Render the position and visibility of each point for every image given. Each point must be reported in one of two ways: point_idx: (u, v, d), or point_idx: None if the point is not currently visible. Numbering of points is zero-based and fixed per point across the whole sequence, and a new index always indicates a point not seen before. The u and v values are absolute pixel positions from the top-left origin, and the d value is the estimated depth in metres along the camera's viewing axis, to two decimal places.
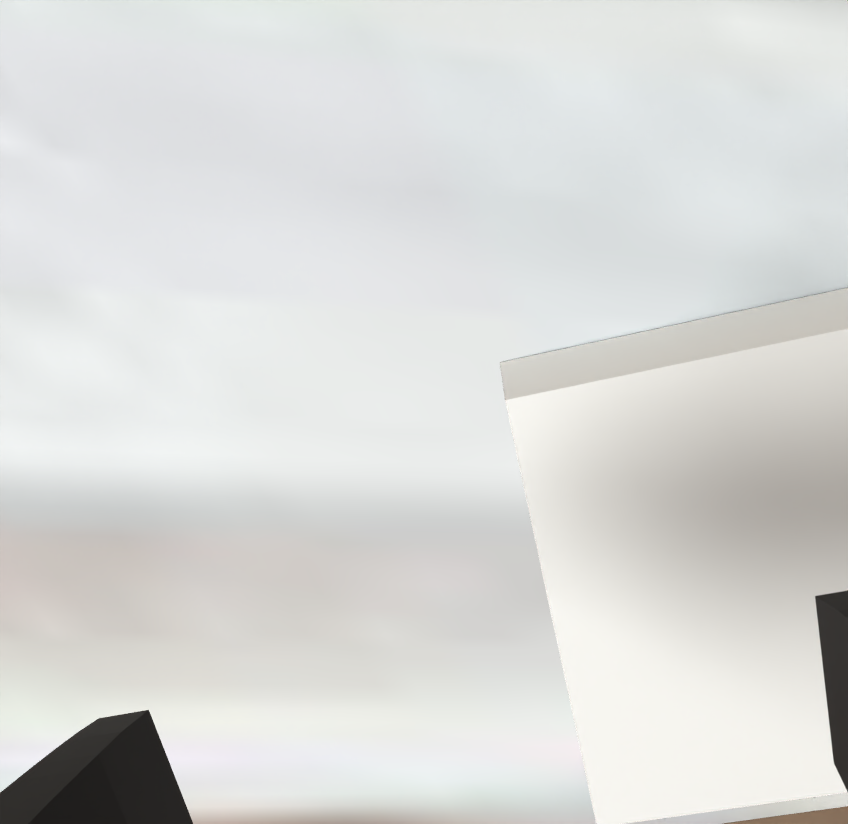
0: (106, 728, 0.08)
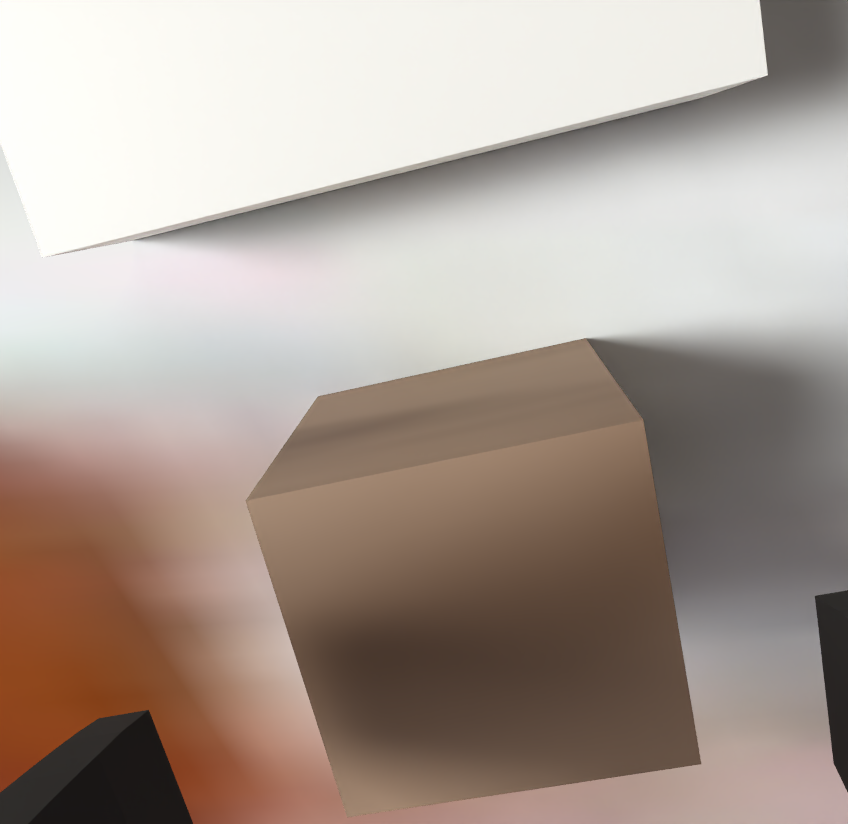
0: (106, 728, 0.08)
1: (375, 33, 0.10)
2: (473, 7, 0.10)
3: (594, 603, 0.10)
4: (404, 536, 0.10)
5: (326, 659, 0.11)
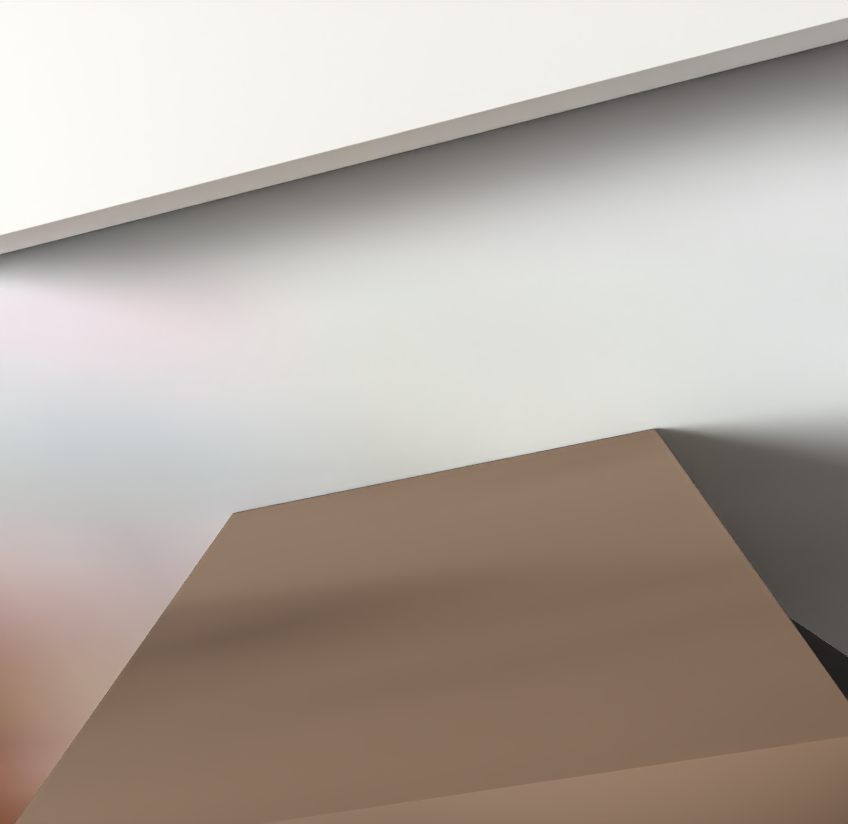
0: None
1: None
2: None
3: None
4: None
5: None
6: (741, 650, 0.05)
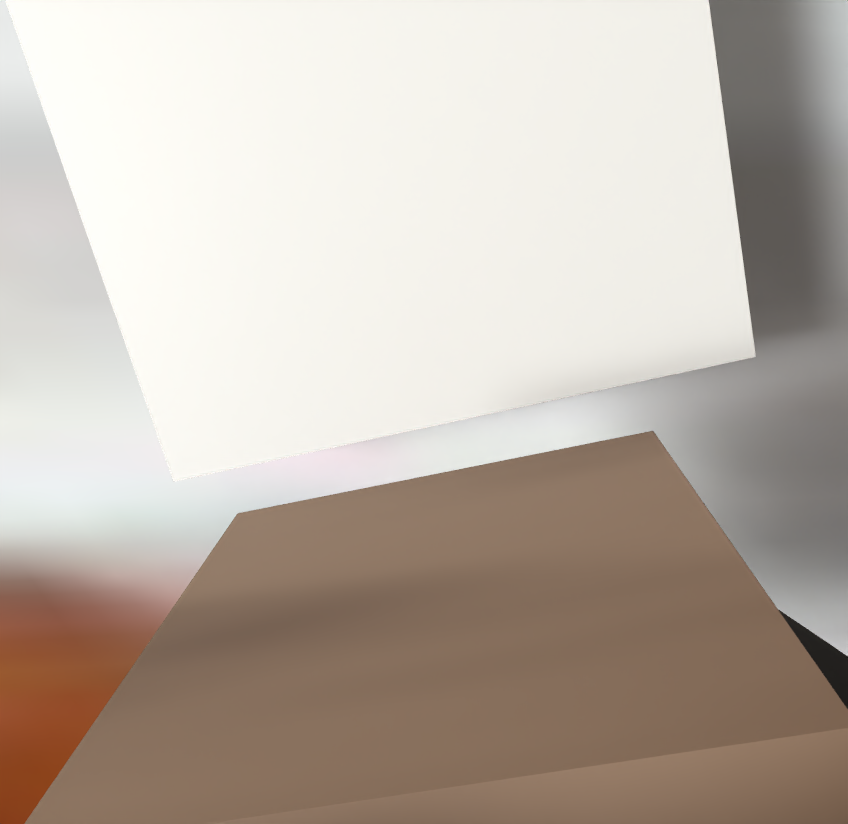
0: None
1: (446, 322, 0.13)
2: (524, 304, 0.13)
3: None
4: None
5: None
6: (735, 647, 0.05)
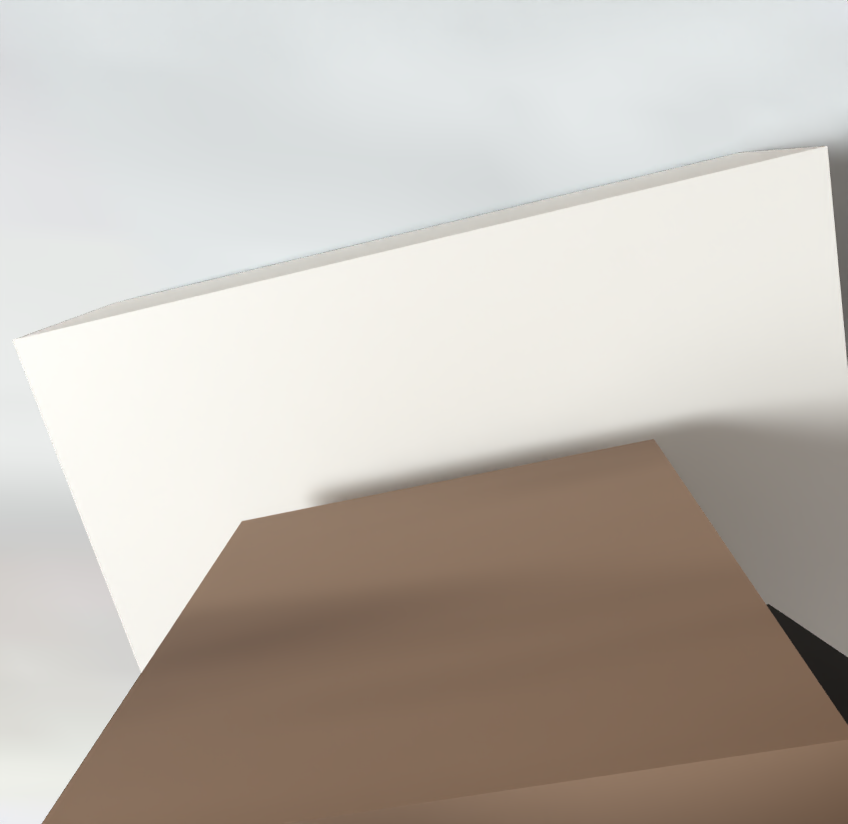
0: None
1: None
2: None
3: None
4: None
5: None
6: (735, 658, 0.05)
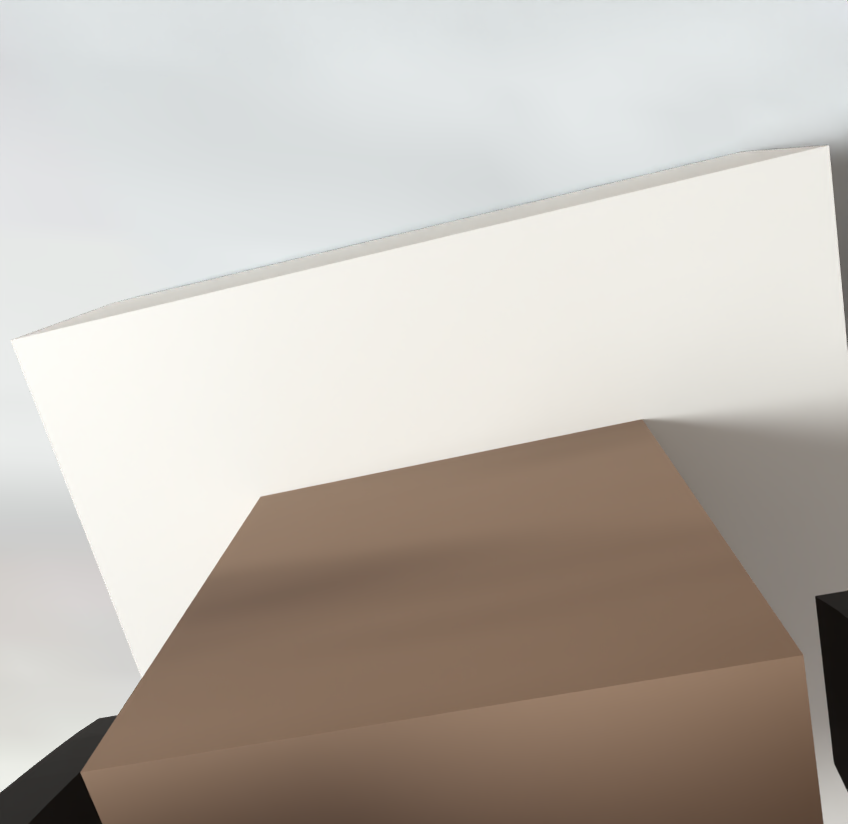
0: (106, 728, 0.08)
1: None
2: None
3: None
4: None
5: None
6: (705, 597, 0.06)
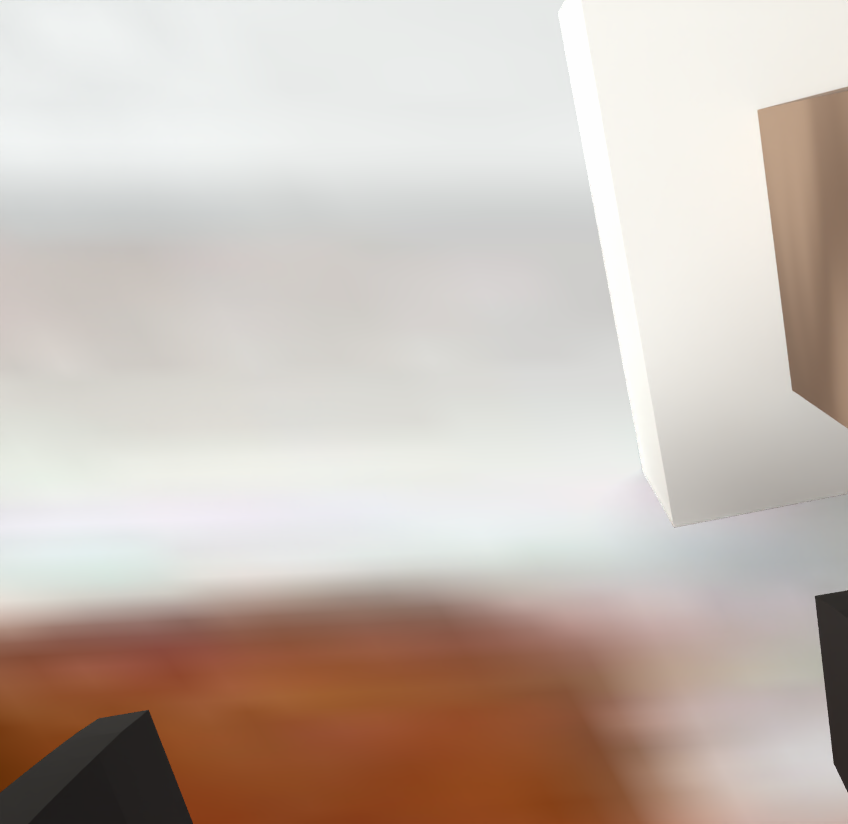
0: (105, 728, 0.08)
1: None
2: None
3: None
4: None
5: None
6: None
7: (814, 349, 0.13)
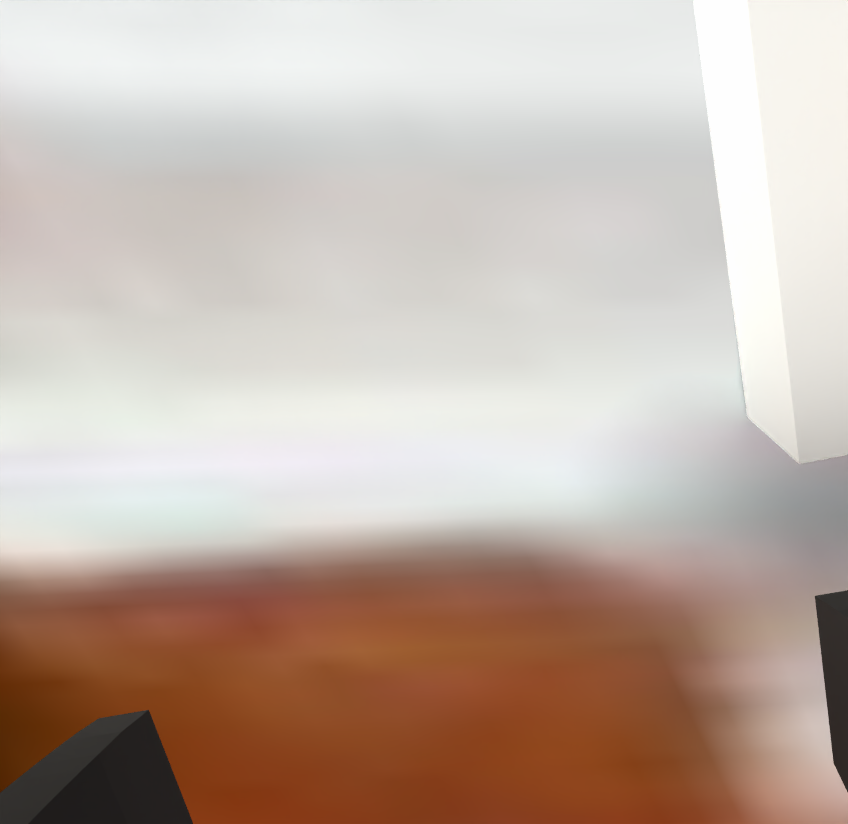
0: (106, 728, 0.08)
1: None
2: None
3: None
4: None
5: None
6: None
7: None
